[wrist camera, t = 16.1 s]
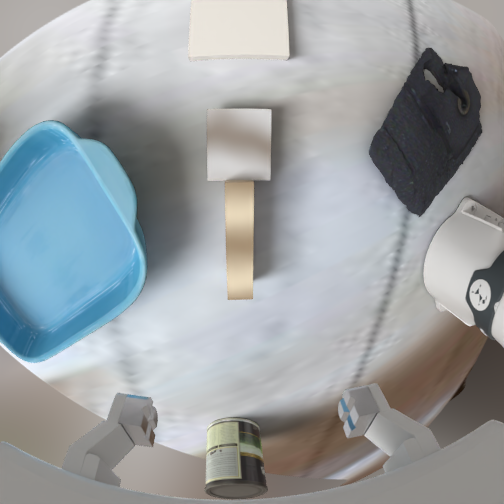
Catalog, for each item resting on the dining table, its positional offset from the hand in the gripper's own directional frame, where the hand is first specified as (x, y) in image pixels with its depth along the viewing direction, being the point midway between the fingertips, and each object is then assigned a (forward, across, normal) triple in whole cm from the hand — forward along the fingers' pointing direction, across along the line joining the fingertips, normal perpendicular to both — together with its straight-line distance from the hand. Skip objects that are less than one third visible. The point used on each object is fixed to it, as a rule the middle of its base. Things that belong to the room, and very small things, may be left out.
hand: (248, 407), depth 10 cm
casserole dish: (+22, +26, +1) cm, 34 cm away
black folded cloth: (+22, -24, -15) cm, 36 cm away
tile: (+21, 0, -20) cm, 29 cm away
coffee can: (+22, +2, +38) cm, 44 cm away
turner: (+22, 0, -4) cm, 22 cm away
